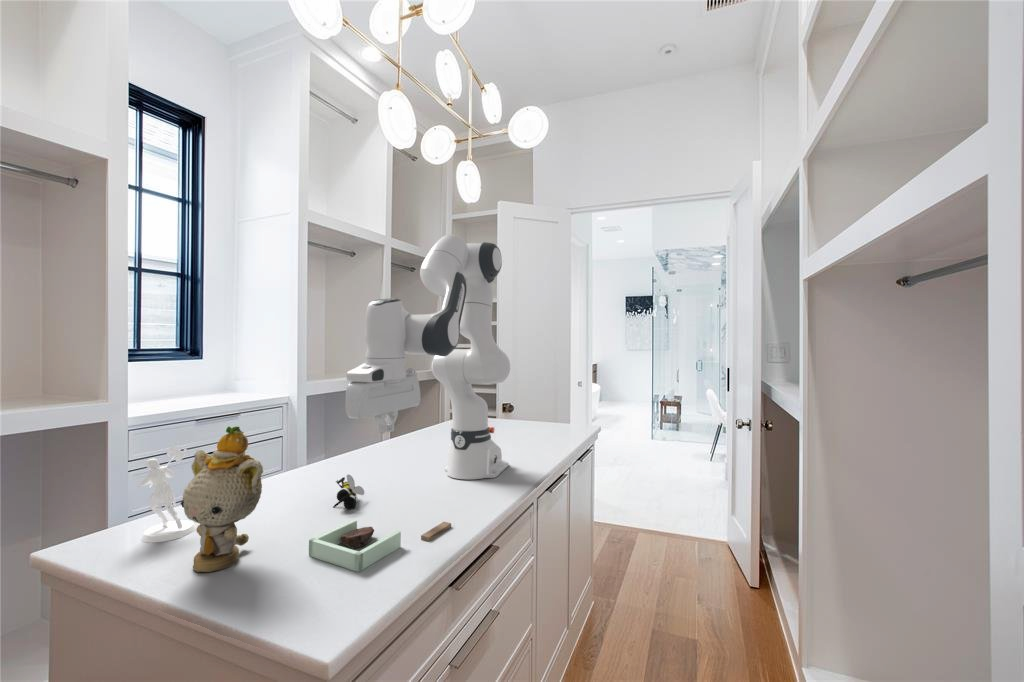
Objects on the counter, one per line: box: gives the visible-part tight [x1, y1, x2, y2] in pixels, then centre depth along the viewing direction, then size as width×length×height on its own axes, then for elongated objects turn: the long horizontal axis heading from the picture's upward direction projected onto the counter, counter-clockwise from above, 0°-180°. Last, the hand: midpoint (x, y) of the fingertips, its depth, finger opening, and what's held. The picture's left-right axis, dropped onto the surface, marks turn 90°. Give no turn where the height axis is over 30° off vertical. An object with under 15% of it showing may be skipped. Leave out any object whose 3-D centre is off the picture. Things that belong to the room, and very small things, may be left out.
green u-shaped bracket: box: [308, 519, 402, 573], centre depth 86 cm, size 11×13×3 cm
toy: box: [332, 474, 365, 510], centre depth 112 cm, size 7×8×15 cm
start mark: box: [420, 521, 452, 542], centre depth 94 cm, size 8×2×1 cm, turn 153°
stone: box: [340, 526, 375, 549], centre depth 89 cm, size 7×7×3 cm
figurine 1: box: [137, 443, 197, 544], centre depth 94 cm, size 10×10×18 cm
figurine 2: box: [180, 426, 264, 573], centre depth 81 cm, size 11×18×25 cm, turn 61°
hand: (386, 432), depth 98 cm, fingers closed
